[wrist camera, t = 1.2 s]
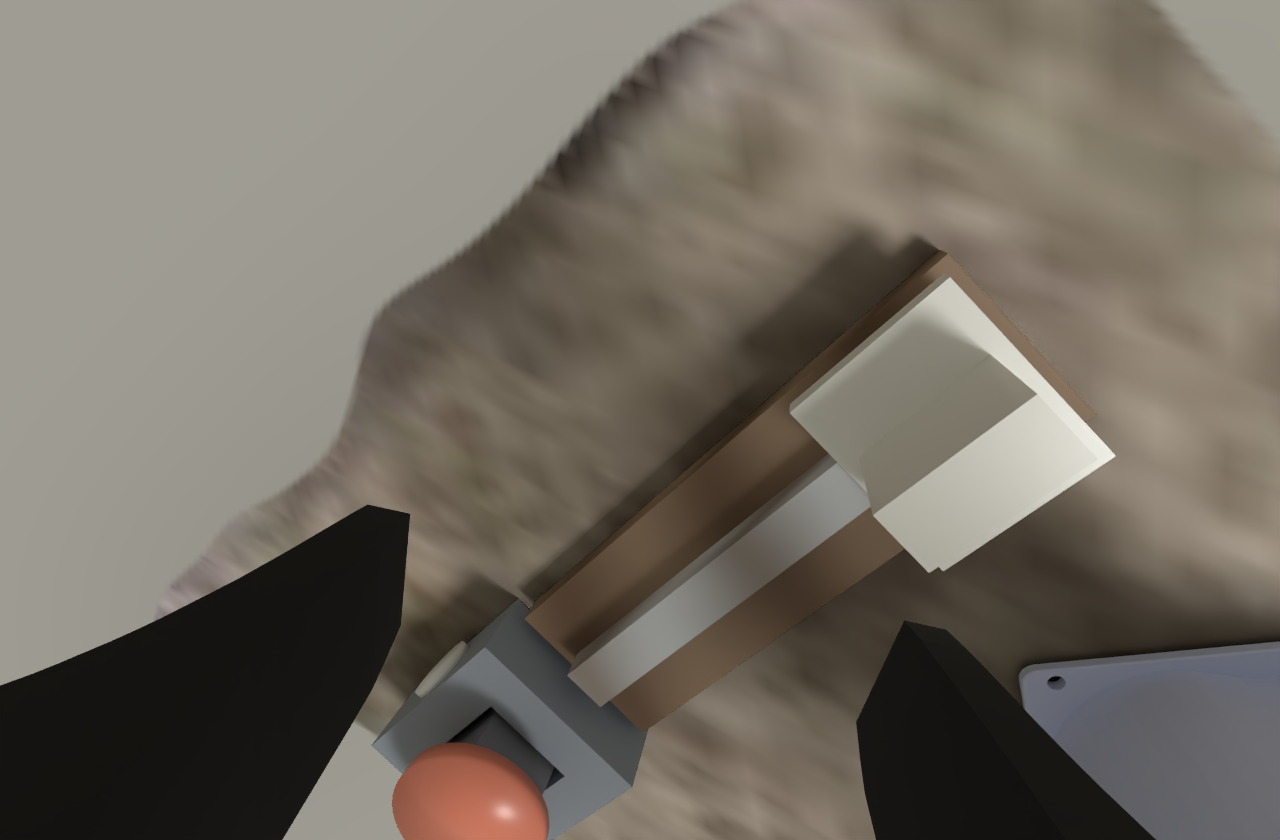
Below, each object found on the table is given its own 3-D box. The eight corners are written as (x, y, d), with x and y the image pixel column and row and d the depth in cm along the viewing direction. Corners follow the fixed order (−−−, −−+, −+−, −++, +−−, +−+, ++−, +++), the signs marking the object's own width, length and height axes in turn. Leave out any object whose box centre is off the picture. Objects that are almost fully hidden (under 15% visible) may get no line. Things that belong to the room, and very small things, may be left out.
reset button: (497, 664, 25) (454, 731, 22) (602, 763, 25) (574, 843, 22) (413, 734, 26) (363, 806, 23) (512, 826, 27) (475, 908, 24)
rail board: (939, 250, 20) (957, 257, 17) (1080, 402, 20) (1115, 428, 18) (536, 600, 26) (511, 638, 24) (649, 709, 27) (635, 756, 24)
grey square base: (512, 593, 26) (478, 641, 23) (649, 724, 27) (632, 786, 24) (407, 686, 29) (365, 739, 26) (534, 805, 29) (506, 870, 27)
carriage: (935, 268, 18) (987, 298, 13) (1084, 430, 19) (1191, 518, 14) (790, 392, 20) (787, 460, 15) (930, 537, 21) (973, 651, 16)
